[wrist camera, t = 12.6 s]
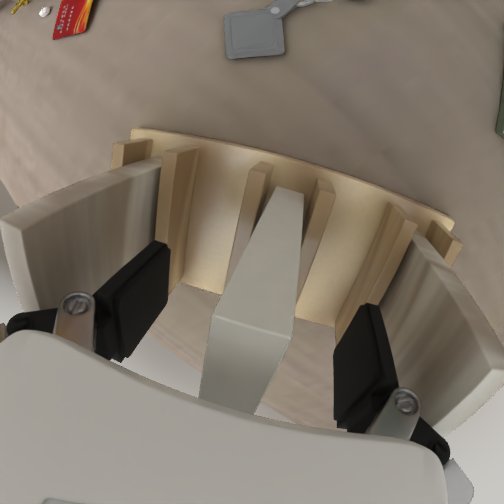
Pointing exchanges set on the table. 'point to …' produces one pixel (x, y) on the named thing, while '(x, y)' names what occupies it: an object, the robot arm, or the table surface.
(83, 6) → the card
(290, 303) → the white book
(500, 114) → the green rack
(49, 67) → the table surface
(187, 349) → the table surface
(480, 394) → the beige rack
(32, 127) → the table surface
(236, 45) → the key chain
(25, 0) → the magic lamp
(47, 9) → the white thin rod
